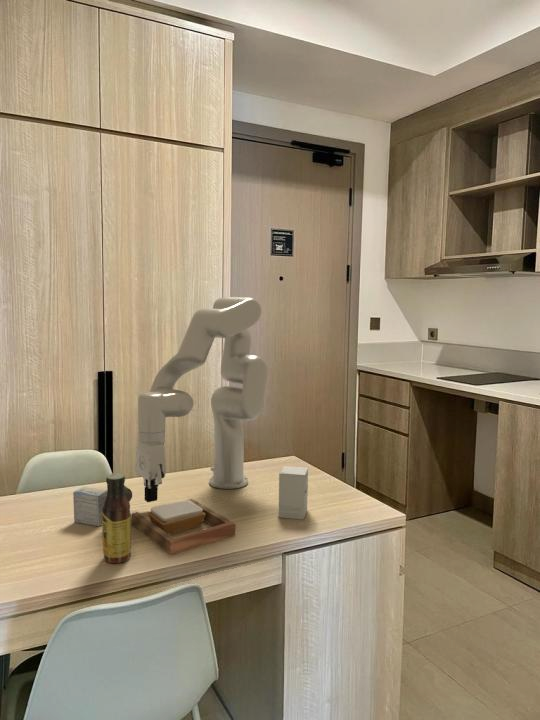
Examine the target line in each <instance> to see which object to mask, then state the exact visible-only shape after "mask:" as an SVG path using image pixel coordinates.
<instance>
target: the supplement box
mask: <svg viewBox="0 0 540 720" xmlns="http://www.w3.org/2000/svg"><path fill="white" fill-rule="evenodd" d="M278 475H279V476H278V480H279V481H278V511H277V513H278V516H277V517H278V518H284V519H292V520H293V519H294V520H304V519H305V516H306V513H307V510H308V494H309V493H308V491H309V490H308V487H309V467H304V466H290V465H289V466H288V465H283V466H282V468H281V470H280V472H279V473H278Z"/></svg>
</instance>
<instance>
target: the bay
mask: <svg viewBox="0 0 540 720" xmlns="http://www.w3.org/2000/svg"><path fill="white" fill-rule="evenodd" d="M124 491H125V493H124V495H125V496H126V497H127V499H128V501H129V503H130V502H131V500H132V498H133V491H132V490H131V489H130V488H129V487H127V486H126V485H124ZM187 500H189V501H191V502H193V503H194V504H196V505H197V506H199V507H200V508H202V509H203V512H204V513H205V514H206V516H205V518H204V520H203V521H204V522H206V523H207V524H209V525H210V526H212V527H208V528H204V529H201V530H197V531H195V532H191V533H187V534H184V535H183V534H182V535H180V536H177V537H173V535H171V534H168V533H166V532H165V531H163V530H162V529H160V528H159V527H158V526H156V525H155V524H153V523H152V522H151V521H150V519H148V518H146V517H145V516H144V515H143V514H141V513H139V512H138V511H135V512H132V513H131V526H133V527H135V528H136V529H137V530H138V531H140V532H141V533H143V534H144V535H145V536H146V537H148V538H149V539H150V540H152V541H153V542H154V543H156V544H157V545H158V546H159V547H161V549H164V550H165V552H167V553H169V554H170V555H174V554H178V553H181V552H183V551H184V552H185V551H187V550H191V549H194V548H197V547H200V546H203V545H207V544H209V543H212V542H216V541H219V540H222V539H225V538H228V537H232V536H235V535H236V523H235V522H234V521H232V520H230V519H228V518H227V517H225V516H223V515H221V514H219V512H217V511H214V510H213V509H211V508H209V507H208V506H205V504H202V503H200V502H199V501H197V500H195V499H193V498H188V499H187Z"/></svg>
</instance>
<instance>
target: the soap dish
mask: <svg viewBox="0 0 540 720" xmlns="http://www.w3.org/2000/svg"><path fill="white" fill-rule="evenodd" d="M146 514H147V516H148V518H149V521H151V522H152V523H153V524H155V525H156V526H158V527H159V528H160V529H162V530H163V531H165V532H166V533H168V534H169V535H172V534H175V533H178V532H182V531H187V530H190V529H194V528H198V527H200V526H202V523H203V521H204V518H205V516H206V514H205V513H204V512H203V509H202V508H200V507H199V506H197V505H196V504H194V503H193V502H191V501H189V500H188V499H186V500H180V501H175V502H168V503H164V504H161V505H156V506H153V507H151V508H150V511H148V512H147V513H146Z"/></svg>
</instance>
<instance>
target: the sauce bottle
mask: <svg viewBox="0 0 540 720" xmlns="http://www.w3.org/2000/svg"><path fill="white" fill-rule="evenodd" d="M125 481H126V476H125V474H123V473H119V472H116V473H110V474H108V475H107V476H106V479H105V482H106V486H107V488H106V490H107V497H106V500H105V503H104V506H103V509H102V525H101V527H102V528H101V530H102V553H103V558H104V561H105V562H106V563H109V564H120V563H124V562H126V561H127V560H129V559H130V557H131V555H132V553H131V552H132V551H131V550H132V529H131V528H132V514H131V503H130V502H129V501H128V499H127V497H126V496H125V495H124V493H125V491H124V486H125Z"/></svg>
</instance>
